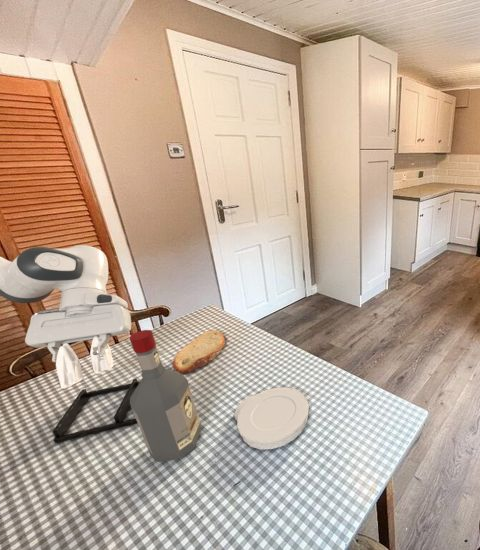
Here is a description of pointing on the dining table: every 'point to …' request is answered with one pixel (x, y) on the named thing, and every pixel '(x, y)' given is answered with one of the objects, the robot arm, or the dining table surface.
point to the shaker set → (71, 367)
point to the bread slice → (199, 352)
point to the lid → (272, 417)
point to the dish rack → (118, 417)
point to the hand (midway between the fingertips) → (78, 358)
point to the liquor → (163, 404)
